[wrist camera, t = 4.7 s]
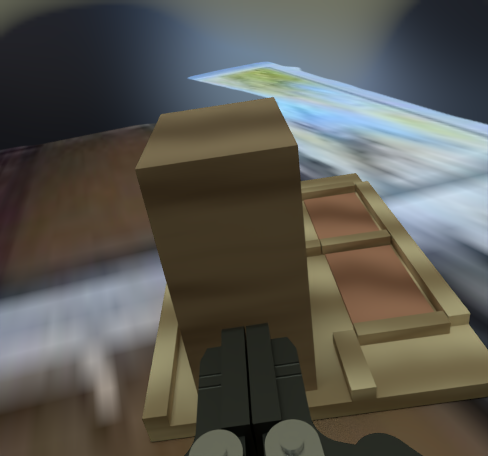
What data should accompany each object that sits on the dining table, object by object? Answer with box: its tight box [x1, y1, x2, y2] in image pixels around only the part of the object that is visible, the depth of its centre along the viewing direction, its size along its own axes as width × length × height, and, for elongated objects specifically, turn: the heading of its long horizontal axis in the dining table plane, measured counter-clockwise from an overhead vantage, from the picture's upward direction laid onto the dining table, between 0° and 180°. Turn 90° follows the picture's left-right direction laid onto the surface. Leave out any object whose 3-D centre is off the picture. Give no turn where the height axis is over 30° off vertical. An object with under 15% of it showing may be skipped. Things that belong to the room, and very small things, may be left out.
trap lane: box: [142, 173, 488, 442], centre depth 32 cm, size 27×18×5 cm, turn 3°
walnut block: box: [135, 97, 317, 394], centre depth 22 cm, size 8×6×13 cm
